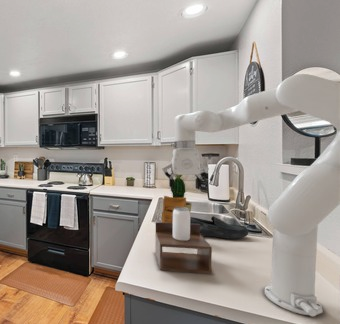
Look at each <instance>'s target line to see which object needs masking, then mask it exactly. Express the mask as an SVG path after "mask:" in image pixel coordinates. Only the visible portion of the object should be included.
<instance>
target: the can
mask: <svg viewBox="0 0 340 324" xmlns="http://www.w3.org/2000/svg"><path fill="white" fill-rule="evenodd" d="M190 217H191V211H190V212H189V209H188V208H185V207H175V208H174V211H173V238H174V239H176V240H179V241H188V240H189V239H190Z"/></svg>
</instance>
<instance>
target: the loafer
mask: <svg viewBox="0 0 340 324" xmlns="http://www.w3.org/2000/svg"><path fill="white" fill-rule="evenodd" d="M190 224H200V235H201V236H202V237H203V238H207V237H215V238H221V239H224V240H237V239H242V238H245V237H247V236H248V235H249V231H248V229H247V227H246V226H244V225H237V224H231V223H230V224H229V223H227V222H225V221H224V220H222V219H220V218H218V217H216V216H214V215H213V216H212V217H211V219H210V220H208V219H203V218H198V217H193V216H190Z"/></svg>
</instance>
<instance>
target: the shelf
mask: <svg viewBox="0 0 340 324" xmlns="http://www.w3.org/2000/svg"><path fill="white" fill-rule="evenodd" d="M154 242H155V245H154V246H155V249H154V251H155V254H154V255H155V258H156V261H157V265H158V267H159V270H160V271H167V272H169V271H170V272H182V273H193V274H194V273H195V274H206V275H207V274H208V275H212V257H213V255H212V253H213V250H212V248H213V247H212V245H210V243H209V242H208V241H207V240H206V239H205V237H203V236H201V235H200V224H190V239H189V240H188V241H179V240H176V239H174V238H173V223H164V222H162V221H156V222H155V241H154ZM163 248H177V249H191V250H193V249H196V252H197V253H188V252H187V253H186V252H174V251H173V252H171V251H170V252H169V251H163Z"/></svg>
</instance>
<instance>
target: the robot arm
mask: <svg viewBox="0 0 340 324" xmlns="http://www.w3.org/2000/svg"><path fill="white" fill-rule="evenodd" d="M297 112H300V113H303V114H306V115H309V116H310V117H313V118H317V119H320V120H322V121H325V122H328V123H329V124H330V125H332V127H334V128H335V129H336V134H335V137H334V139H332V141H331V142H330V143H329V144H328V145H327V147H326V148H325V149H324V150H323V151H322V153H321V154H320V155H319V156H318V157H317V158H316V159H315V160H314V161H313V163H311V164H310V165H309V166H308V167H306V168H305V169H303V170H301V171H300V172H299V173H298V175H297V176H296V177H294V179H293V180H292V181H291V182H290V184H288V186H286V188H285V189H284V190H283V191H282V192H281V194H280V195H278V197H277V198H276V199H275V200H274V201H273V203H271V205H270V206H269V208H268V211H267V219H268V221H269V224H270V226H272V227H273V228H272V245H271V276H270V277H271V278H270V284H268V285H266V286H265V287H264V295H265V296H266V297H267V298H268V300H269V301H271V302H272V303H274V305H277V306H278V307H281V308H282V309H285V310H287V311H290V312H292V313H294V314H295V313H296V314H299V315H304V316H310V317H316V316H318V315H321V314H322V313H323V312H324V309H323V306H322V304H321V303H320V301H319V300H318V297H317V296H316V269H317V249H318V248H317V247H318V232H319V231H318V230H319V229H318V228H319V224H321V222H323V221H324V220H325V219H326V218H327V216H329V215H331V213H332V212H333V211H334V210H335V209H336V208H337V207H338V206H339V205H340V82H338V81H335V80H331V79H328V78H324V77H320V76H317V75H313V74H308V73H298V74H293V75H290V76H288V77H286V78H285V79H284V80H282V81H281V82H280V83H279V84H278V86H276V87H273V88H270V89H266V90H263V91H259V92H257V93H253V94H250V95H247V96H246V97H244V98H243V99H242V100H241V101H240V102H239V103H238V104H236V105H234V106H232V107H229V108H226V109H223V110H219V111H217V112H213V111H210V110H204V109H203V110H198V111H197V110H196V111H195V112H191V113H183V114H178V115H177V116H175V118H174V142H172V143H171V144H170V147H171V148H174V149H173V150H172V154H171V161H170V162H171V163H170V164H168V165H166V166H163V167H162V168H161V170H162V172H163V174H164V175H165V176H166V177H167V178H168V181H169V182H168V184H169V185H168V186H169V188H170V190H171V189H174V179H175V177H176V176H177V175H178V176H186V175H187V176H195V177H196V178H195V189H196V190H200V189H201V187H202V180H203V178H204V177H205V176H206V175H207V173H208V171H209V167H207V166H205V165H203V164H202V163H201V162H200V161H201V160H200V154H199V149H197V148H196V132H203V133H204V132H205V133H217V132H221V131H226V130H231V129H234V128H238V127H241V126H244V125H249V124H251V123H254V122H258V121H262V120H266V119H272V118H275V117H279V116H284V115H287V114H288V115H289V114H292V113H297ZM169 169H170V172H168V170H169ZM201 169H202V172H201Z"/></svg>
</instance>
